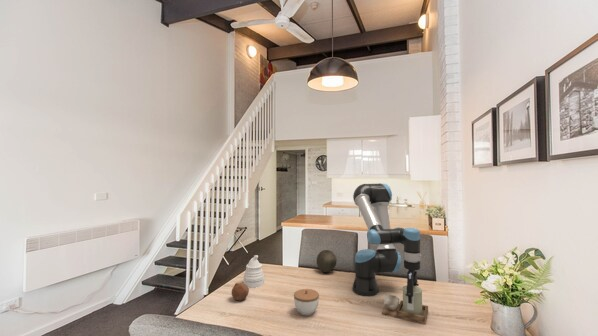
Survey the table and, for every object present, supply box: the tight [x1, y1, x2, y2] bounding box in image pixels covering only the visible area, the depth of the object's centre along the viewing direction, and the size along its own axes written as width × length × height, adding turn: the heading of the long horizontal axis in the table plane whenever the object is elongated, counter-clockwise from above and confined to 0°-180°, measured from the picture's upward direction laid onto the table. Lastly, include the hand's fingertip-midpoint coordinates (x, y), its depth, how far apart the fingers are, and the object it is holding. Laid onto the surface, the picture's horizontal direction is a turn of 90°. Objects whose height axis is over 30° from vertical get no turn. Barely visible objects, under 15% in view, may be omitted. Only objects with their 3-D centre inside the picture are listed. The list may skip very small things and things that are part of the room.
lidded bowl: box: [293, 288, 320, 316], centre depth 146 cm, size 13×13×11 cm
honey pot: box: [243, 254, 265, 289], centre depth 183 cm, size 13×13×18 cm
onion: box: [231, 282, 250, 301], centre depth 161 cm, size 10×9×10 cm
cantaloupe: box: [316, 249, 338, 273], centre depth 203 cm, size 14×14×15 cm
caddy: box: [381, 294, 429, 325], centre depth 144 cm, size 20×13×6 cm, turn 61°
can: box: [402, 285, 423, 316], centre depth 143 cm, size 9×9×12 cm
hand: (412, 303), depth 142 cm, fingers open, 12 cm apart
